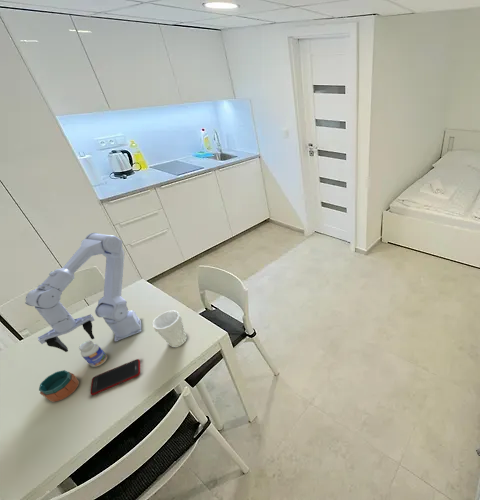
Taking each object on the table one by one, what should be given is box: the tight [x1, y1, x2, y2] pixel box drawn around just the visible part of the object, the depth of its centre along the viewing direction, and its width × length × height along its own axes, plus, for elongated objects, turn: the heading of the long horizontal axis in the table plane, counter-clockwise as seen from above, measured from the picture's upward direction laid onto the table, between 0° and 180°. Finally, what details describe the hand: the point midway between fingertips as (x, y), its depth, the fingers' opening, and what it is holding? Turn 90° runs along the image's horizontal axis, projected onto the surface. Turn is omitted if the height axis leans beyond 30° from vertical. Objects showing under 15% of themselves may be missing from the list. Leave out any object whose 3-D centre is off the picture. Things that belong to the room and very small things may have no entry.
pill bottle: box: [78, 340, 108, 368], centre depth 108 cm, size 5×5×10 cm
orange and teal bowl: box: [38, 369, 80, 403], centre depth 100 cm, size 9×9×6 cm
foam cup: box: [151, 309, 187, 348], centre depth 114 cm, size 10×9×13 cm
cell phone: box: [90, 358, 141, 396], centre depth 104 cm, size 8×15×1 cm, turn 122°
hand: (79, 343), depth 105 cm, fingers open, 7 cm apart
